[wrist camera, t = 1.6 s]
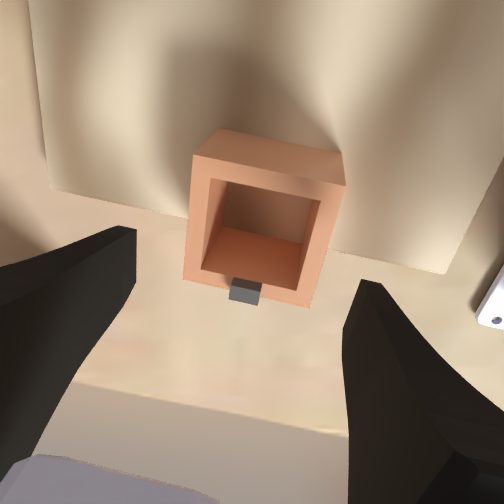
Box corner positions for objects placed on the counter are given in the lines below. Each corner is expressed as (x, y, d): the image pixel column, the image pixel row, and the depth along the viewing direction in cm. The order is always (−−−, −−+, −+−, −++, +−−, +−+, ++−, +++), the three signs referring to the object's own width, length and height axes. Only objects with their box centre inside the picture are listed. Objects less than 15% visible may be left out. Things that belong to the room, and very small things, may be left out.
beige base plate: (646, -180, 12) (685, -204, 11) (437, 258, 20) (444, 274, 19) (25, -275, 13) (-8, -307, 12) (66, 178, 21) (49, 188, 20)
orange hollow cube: (341, 153, 17) (347, 192, 13) (312, 258, 20) (308, 317, 16) (219, 128, 17) (187, 159, 13) (207, 235, 20) (178, 287, 16)
